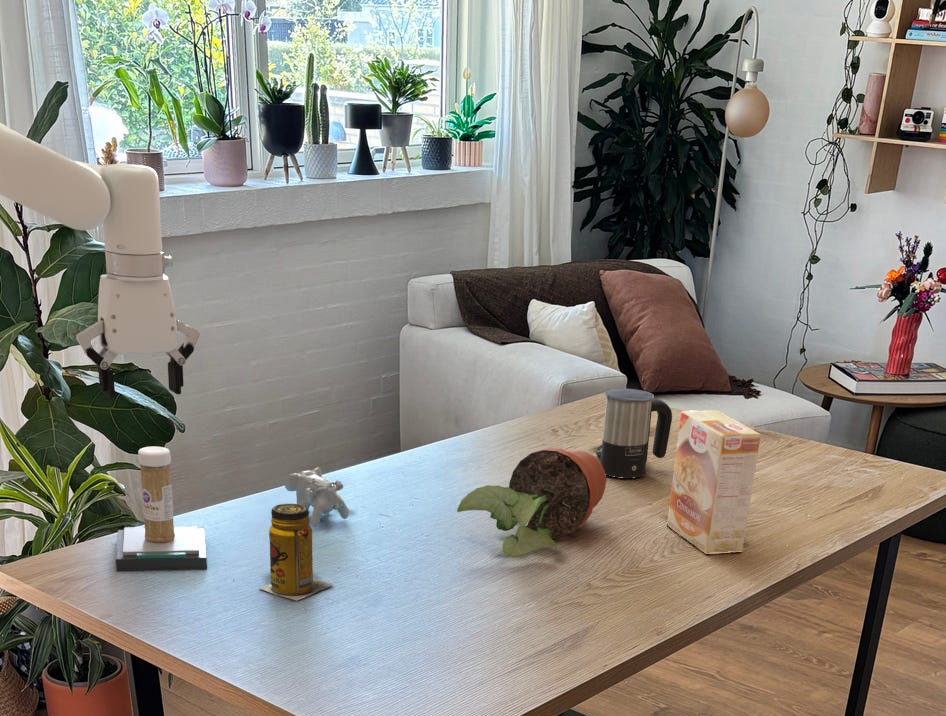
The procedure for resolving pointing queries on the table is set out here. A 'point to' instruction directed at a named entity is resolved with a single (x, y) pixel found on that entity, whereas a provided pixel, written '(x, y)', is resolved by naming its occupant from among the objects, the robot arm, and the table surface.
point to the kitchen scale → (161, 550)
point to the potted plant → (542, 498)
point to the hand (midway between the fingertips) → (142, 394)
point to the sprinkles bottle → (157, 493)
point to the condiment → (292, 553)
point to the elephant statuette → (317, 494)
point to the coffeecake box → (713, 480)
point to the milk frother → (632, 431)
